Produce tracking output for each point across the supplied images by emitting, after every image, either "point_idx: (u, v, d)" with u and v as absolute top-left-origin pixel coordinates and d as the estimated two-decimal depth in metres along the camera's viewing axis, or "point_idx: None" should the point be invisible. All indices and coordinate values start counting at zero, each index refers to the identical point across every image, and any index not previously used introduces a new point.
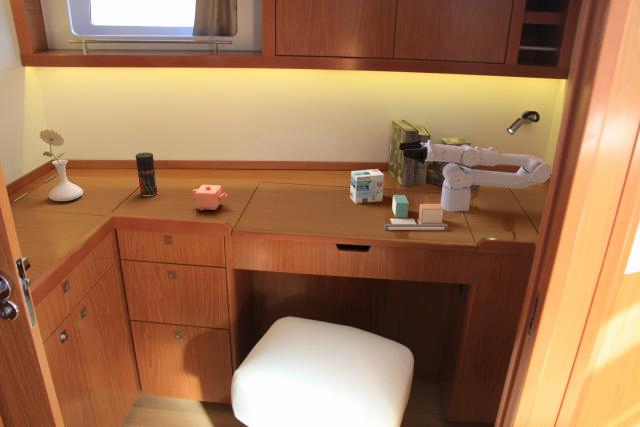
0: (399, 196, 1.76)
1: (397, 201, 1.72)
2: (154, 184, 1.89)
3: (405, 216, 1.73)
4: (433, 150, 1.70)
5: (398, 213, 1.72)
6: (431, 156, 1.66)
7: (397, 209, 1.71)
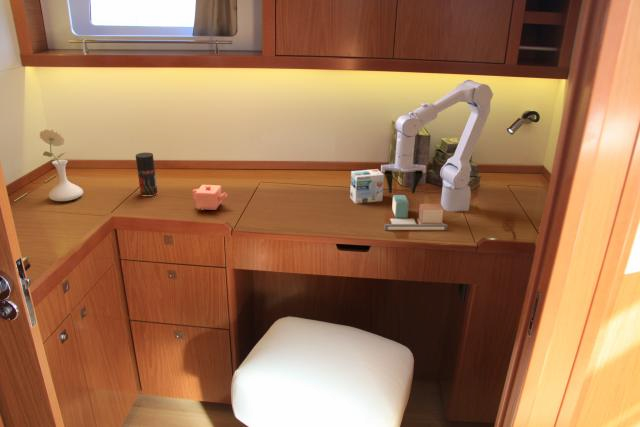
0: (399, 196, 1.76)
1: (397, 201, 1.72)
2: (154, 184, 1.89)
3: (405, 216, 1.73)
4: (412, 164, 1.68)
5: (398, 213, 1.72)
6: None
7: (397, 209, 1.71)
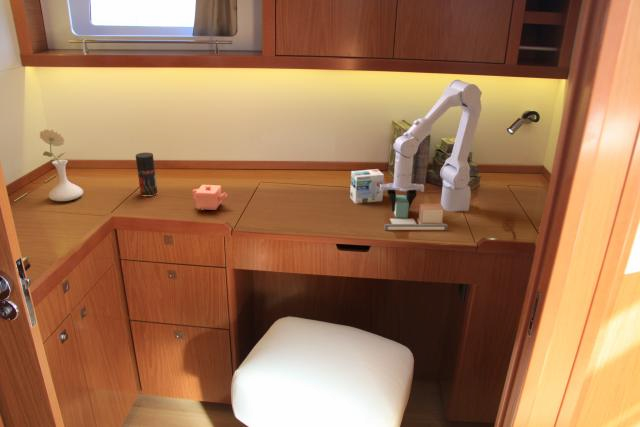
0: (399, 196, 1.76)
1: (397, 201, 1.72)
2: (154, 184, 1.89)
3: (405, 216, 1.73)
4: (410, 184, 1.70)
5: (398, 213, 1.72)
6: None
7: (397, 209, 1.71)
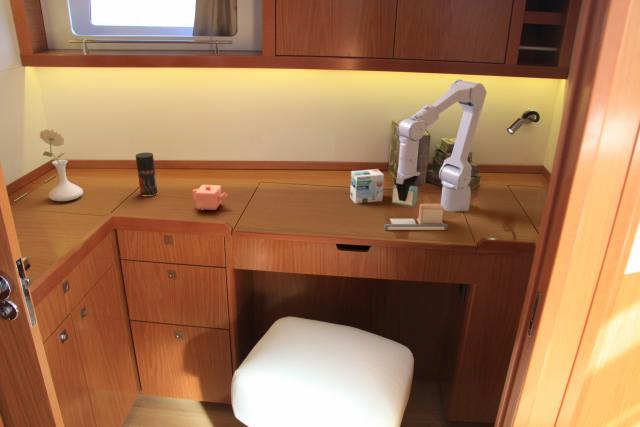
0: None
1: (410, 189, 1.63)
2: (154, 184, 1.89)
3: (416, 201, 1.67)
4: None
5: (414, 200, 1.65)
6: None
7: (414, 197, 1.64)
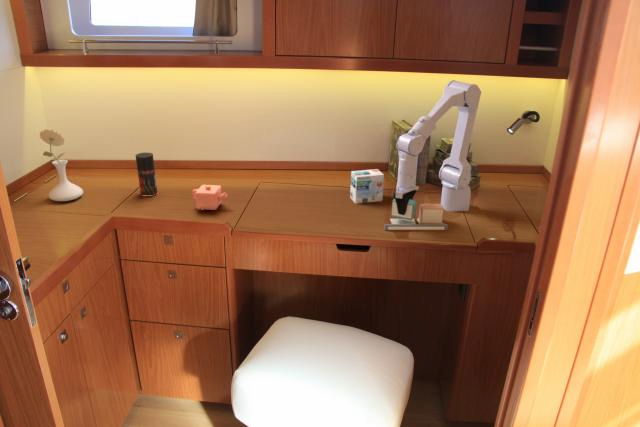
0: None
1: (410, 203, 1.65)
2: (154, 184, 1.89)
3: (414, 215, 1.69)
4: None
5: (413, 214, 1.66)
6: None
7: (413, 211, 1.65)
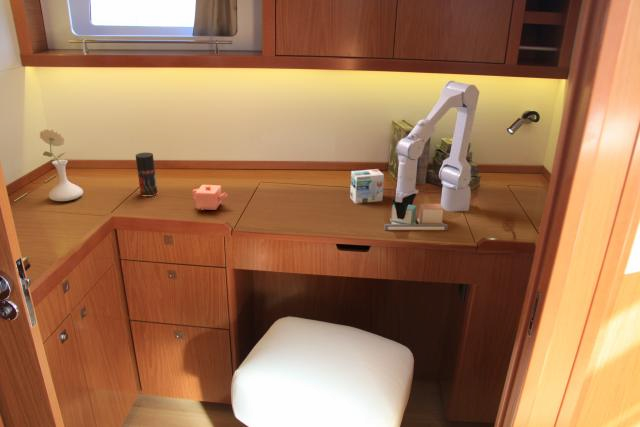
0: None
1: (409, 208, 1.66)
2: (154, 184, 1.89)
3: (414, 220, 1.70)
4: None
5: (412, 219, 1.67)
6: None
7: (412, 216, 1.66)
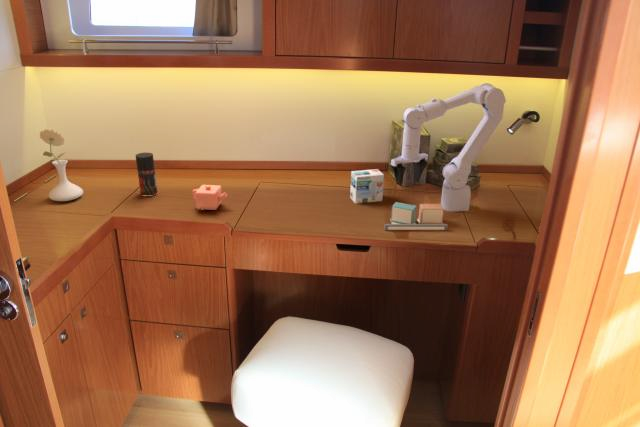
0: (397, 204, 1.69)
1: (409, 208, 1.66)
2: (154, 184, 1.89)
3: (414, 220, 1.70)
4: None
5: (412, 219, 1.67)
6: None
7: (412, 216, 1.66)
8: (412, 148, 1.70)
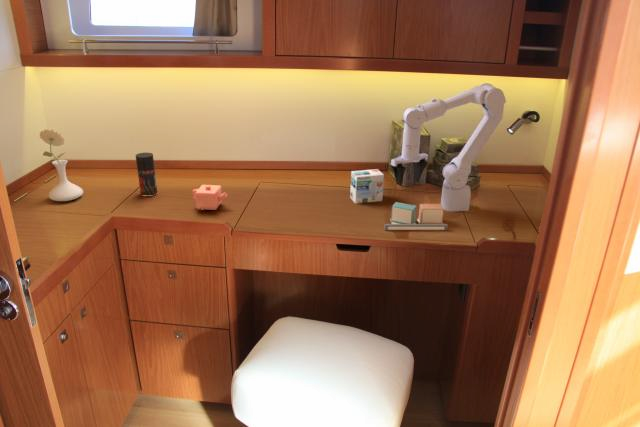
0: (397, 204, 1.69)
1: (409, 208, 1.66)
2: (154, 184, 1.89)
3: (414, 220, 1.70)
4: None
5: (412, 219, 1.67)
6: None
7: (412, 216, 1.66)
8: (412, 148, 1.70)
